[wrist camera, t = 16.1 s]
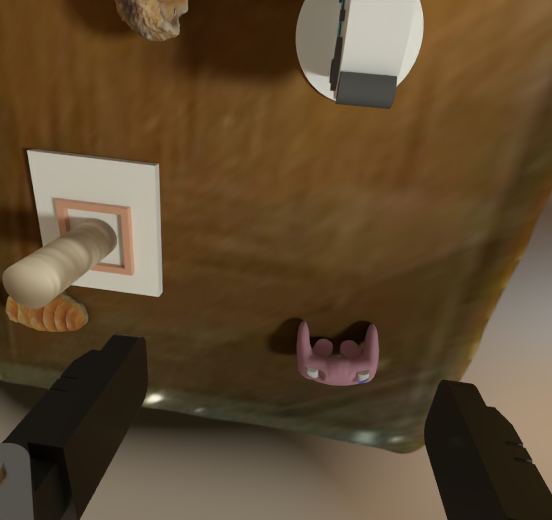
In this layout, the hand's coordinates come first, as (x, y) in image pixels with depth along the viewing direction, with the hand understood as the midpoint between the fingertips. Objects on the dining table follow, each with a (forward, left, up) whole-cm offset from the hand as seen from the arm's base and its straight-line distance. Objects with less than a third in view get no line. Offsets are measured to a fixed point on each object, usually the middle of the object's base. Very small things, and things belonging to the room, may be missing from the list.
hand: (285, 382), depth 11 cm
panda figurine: (-12, +3, -33) cm, 35 cm away
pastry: (+22, -31, -33) cm, 51 cm away
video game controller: (+22, +6, -33) cm, 40 cm away
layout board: (+10, -23, -33) cm, 41 cm away
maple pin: (+11, -23, -32) cm, 41 cm away
